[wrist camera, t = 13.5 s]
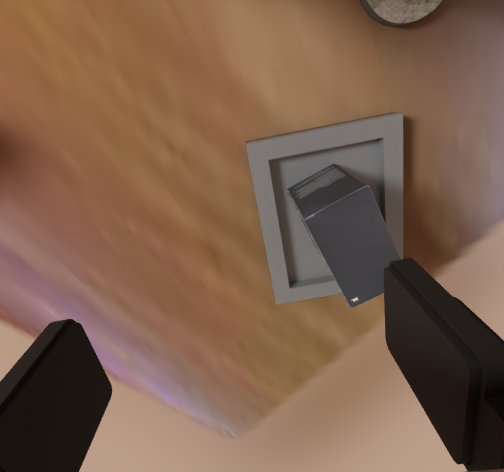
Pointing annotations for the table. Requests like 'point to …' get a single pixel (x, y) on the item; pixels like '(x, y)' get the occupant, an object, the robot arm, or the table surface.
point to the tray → (303, 166)
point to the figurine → (398, 10)
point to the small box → (346, 231)
